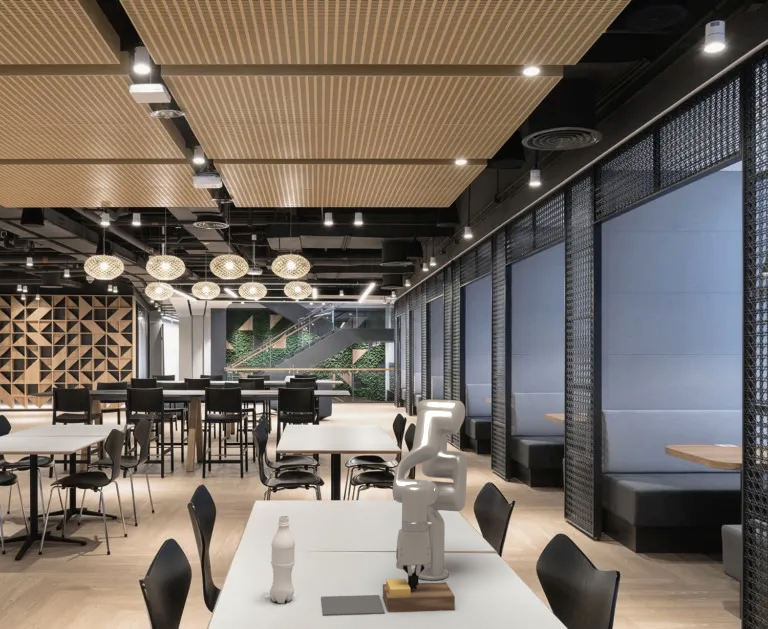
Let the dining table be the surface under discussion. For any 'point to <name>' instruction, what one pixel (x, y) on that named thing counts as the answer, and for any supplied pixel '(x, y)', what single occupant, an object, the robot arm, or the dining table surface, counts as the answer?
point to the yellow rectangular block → (398, 587)
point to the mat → (352, 605)
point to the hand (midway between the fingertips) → (413, 587)
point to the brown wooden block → (421, 599)
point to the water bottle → (282, 562)
